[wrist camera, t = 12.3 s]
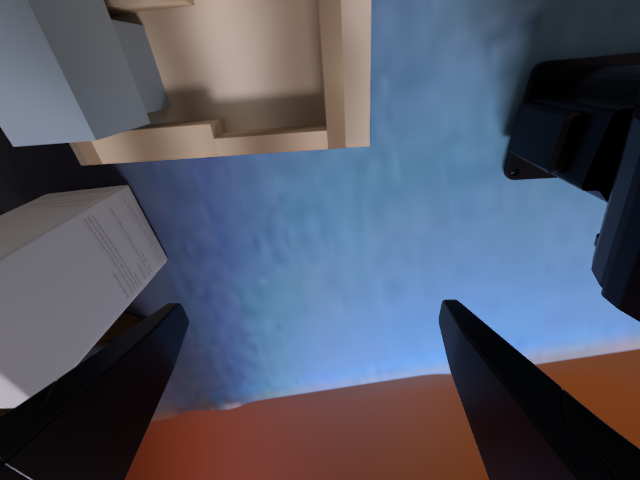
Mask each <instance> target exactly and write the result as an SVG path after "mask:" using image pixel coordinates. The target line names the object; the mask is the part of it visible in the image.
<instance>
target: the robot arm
mask: <svg viewBox="0 0 640 480" xmlns="http://www.w3.org/2000/svg"><path fill="white" fill-rule="evenodd" d="M544 67H545V68H546V73H545V75H543V76H542V77H541V76H540V72H541V70H542V69H543V68H544ZM508 150H509V151H510V152H509V155H508V159H507V163H506V166H505V170H504V174H505V176H506V177H508V178H509V179H511V180H520V179H539V178H558V177H559V178H560V179H562V180H564V181H566V182H568V183H570V184H572V185H574V186H575V187H577V188H579V189H581V190H583V191H586V192H588V193H590V194H592V195H594V196H596V197H598V198H600V199H601V200H603V201H605V202H607V203H608V204H607V208H606V212H605V215H604V219H603V223H602V226H601V230H600V233H599V234H597V235H596V239H595V243H594V245H595V246H596V248H595V252H594V256H593V262H592V269H591V270H592V272H593V274H594V275H595V277H596V279H597V281H598V283H599V285H600V286H601V287H602V292H601V294H602V296H603V297H604V298H605V299H607V300H608V301H609V302H610V303H611V304H613V305H614V306H615V307H616V308H618V309H619V310H621V311H622V312H624V313H626V314H627V315H629V316H631V317H632V318H634V319H636V320H638V321H639V322H640V52H639V53H628V54H617V55H606V56H596V57H585V58H574V59H563V60H552V61H543V62H540V63H538V64H537V65H536V66H535V67H534V68H533V70H532V72H531V75H530V79H529V83H528V86H527V90H526V94H525V97H524V101H523V104H522V105H521V106H520V107H519V110H518V113H517V117H516V121H515V124H514V128H513V132H512V136H511V139H510V143H509V147H508ZM516 168H517V170H516V172H515V173H514V174H511V172H512V171H513V170H514V169H516ZM188 325H189V319H188V317H187V315H186V313H185V310H184V308H183V306H182V305H181V304H180V303H169V304H167V305H165V306H164V307H162V308H161V309H159V310H158V311H156V312H155V313H153V314H152V315H150V316H149V317H147V318H146V319H145V320H143V321H142V322H140V323H139V324H137V325H136V326H134V327H133V328H131V329H130V330H128V331H127V332H126V333H124V334H123V335H121V336H120V337H118V338H117V339H115V340H114V341H112V342H111V343H109V344H108V345H107V346H105V347H104V348H102V349H101V350H99V351H98V352H96V353H95V354H93V355H92V356H90V357H89V358H87V359H86V360H85V361H83V362H82V363H80V364H79V365H77V366H76V367H74V368H73V369H71V370H70V371H68V372H67V373H66V374H64V375H63V376H61V377H60V378H58V379H57V381H54V382H52V383H51V384H49V385H48V386H46V387H45V388H44V389H42V390H41V391H39V392H38V393H36V394H35V395H33V396H32V397H30V398H29V399H27V400H26V401H24V402H23V403H21V404H20V405H18V406H17V407H15V408H13V409H12V410H10V411H9V412H7V413H5V414H4V415H2V416H1V417H0V480H125V478H126V476H127V473H128V471H129V469H130V467H131V464H132V462H133V460H134V458H135V455H136V453H137V451H138V448H139V446H140V444H141V442H142V439H143V437H144V435H145V433H146V430H147V428H148V426H149V424H150V421H151V419H152V417H153V415H154V412H155V410H156V408H157V406H158V403H159V401H160V399H161V397H162V394H163V392H164V390H165V388H166V385H167V383H168V381H169V379H170V376H171V374H172V372H173V369H174V367H175V364H176V361H177V359H178V356H179V353H180V350H181V347H182V344H183V340H184V337H185V334H186V331H187V328H188ZM439 325H440V329H441V334H442V338H443V342H444V346H445V351H446V355H447V359H448V363H449V367H450V371H451V374H452V377H453V380H454V382H455V385H456V388H457V391H458V394H459V396H460V399H461V402H462V405H463V407H464V410H465V413H466V416H467V419H468V421H469V424H470V427H471V430H472V433H473V435H474V438H475V441H476V444H477V446H478V449H479V452H480V455H481V457H482V460H483V463H484V466H485V469H486V472H487V474H488V477H489V480H640V449H639V448H638V447H636V446H635V445H633V444H632V443H631V442H629V441H628V440H627V439H626V438H624V437H623V436H622V435H620V434H619V433H618V432H616V431H615V430H614V429H612V428H611V427H610V426H608V425H607V424H606V423H604V422H603V421H602V420H601V419H599V418H598V417H597V416H595V414H593V413H592V412H591V411H590V410H588V409H587V408H586V407H585V406H583V405H582V404H581V403H580V402H579V401H577V400H576V399H575V398H574V397H572V396H571V395H570V394H569V393H568V392H567V391H565V390H562V388H561V387H560V386H559V385H558V384H557V383H556V382H554V381H553V380H552V379H551V378H550V377H549V376H547V375H546V374H545V373H543V372H542V371H541V370H540V369H539V368H538V367H537V366H535V365H534V364H533V363H532V362H531V361H529V360H528V359H527V358H526V357H525V356H523V355H522V354H521V353H520V352H519V351H517V350H516V349H515V348H514V347H513V346H511V345H510V344H509V343H508V342H507V341H505V340H504V339H503V338H502V337H501V336H500V335H498V334H497V333H496V332H495V331H494V330H492V329H491V328H490V327H489V326H488V325H486V324H485V323H484V322H483V321H482V320H480V319H479V318H478V317H477V316H476V315H474V314H473V313H472V312H471V311H470V310H468V309H467V308H466V307H465V306H464V305H462V304H461V303H460V302H459V301H457V300H443V302H442V305H441V310H440V314H439Z"/></svg>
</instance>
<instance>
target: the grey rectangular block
mask: <svg viewBox="0 0 640 480" xmlns="http://www.w3.org/2000/svg"><path fill="white" fill-rule="evenodd" d="M170 107H171V106H170V103H169V100H168V97H167V94H166V91H165V88H164V85H163V82H162V79H161V76H160V73H159V70H158V67H157V64H156V61H155V58H154V55H153V52H152V49H151V46H150V43H149V40H148V37H147V34H146V31H145V28H144V26H143V25H138V24H132V23H127V22H122V21H116V20H111V18H110V15H109V13H108V10H107V8H106V5H105V2H104V0H0V127H1V129H2V130H3V132H4V133H5V135H6V136H7V138H8V139H9V141H10V142H11V144H12V145H13V147H18V146H31V145H44V144H57V143H70V142H83V141H96V140H99V139H103V138H106V137H109V136H112V135H115V134H118V133H122V132H125V131H128V130H131V129H134V128H137V127H141V126H144V125H147V124H150V121H149V118H148V115H147V113H150V112H154V111H158V110H162V109H166V108H170Z"/></svg>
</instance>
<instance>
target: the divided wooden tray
mask: <svg viewBox="0 0 640 480" xmlns="http://www.w3.org/2000/svg"><path fill="white" fill-rule="evenodd" d="M104 2H105V5H106V8H107V10H108V13H109V15H110V18H111V20H116V21H122V22H127V23H132V24H138V25H143V26H144V28H145V31H146V34H147V37H148V40H149V43H150V46H151V49H152V52H153V55H154V58H155V61H156V64H157V67H158V70H159V73H160V76H161V79H162V82H163V85H164V88H165V91H166V94H167V97H168V100H169V103H170V106H171V107H170V108H166V109H162V110H158V111H154V112H150V113H147V115H148V118H149V121H150V124H147V125H144V126H141V127H137V128H134V129H131V130H128V131H125V132H122V133H118V134H115V135H112V136H109V137H106V138H103V139H99V140H96V141H83V142H70V143H69V144H70V146H71V147H72V149H73V151H74V153H75V155H76V157H77V158H78V160H79V162H80V164H81V166H82V165H98V164H113V163H128V162H143V161H158V160H173V159H188V158H203V157H217V156H232V155H247V154H262V153H277V152H292V151H307V150H322V149H337V148H350V147H365V146H370V67H371V0H104Z"/></svg>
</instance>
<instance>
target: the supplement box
mask: <svg viewBox="0 0 640 480" xmlns="http://www.w3.org/2000/svg"><path fill="white" fill-rule="evenodd" d="M167 260H168V259H167V257H166V255H165V253H164V251H163V249H162V248H161V246H160V244H159V242H158V240H157V238H156V236H155V235H154V233H153V231H152V229H151V227H150V225H149V223H148V222H147V220H146V218H145V216H144V214H143V212H142V210H141V208H140V206H139V204H138V203H137V201H136V199H135V197H134V195H133V193H132V191H131V189H130V188H129V186H128V185H121V186H112V187H104V188H94V189H85V190H77V191H68V192H59V193H52V194H46V195H44V196H41V197H39V198H37V199H35V200H33V201H31V202H29V203H26V204H24V205H22V206H20V207H18V208H16V209H13V210H11V211H9V212H7V213H5V214H2V215H0V408H15V407H17V406H18V405H20V404H21V403H23V402H24V401H26V400H27V399H29V398H30V397H32V396H33V395H35V394H36V393H38V392H39V391H41V390H42V389H44V388H45V387H46V386H48V385H49V384H51V383H52V382H54V381H57V379H58V378H60V377H61V376H63V375H64V374H66V373H67V372H68V371H70V370H71V369H73V368H74V367H76V366H77V365H78V363H79V362H80V361H81V360H82V359H83V358H84V357H85V355H86V354H87V353H88V352H89V351H90V350H91V348H92V347H93V346H94V345H95V344H96V343H97V341H98V340H99V339H100V338H101V337H102V336H103V335H104V333H105V332H106V331H107V330H108V329H109V328H110V327H111V325H112V324H113V323H114V322H115V321H116V320H117V318H118V317H119V316H120V315H121V314H122V313H123V312H124V310H125V309H126V308H127V307H128V306H129V305H130V303H131V302H132V301H133V300H134V299H135V298H136V296H137V295H138V294H139V293H140V292H141V291H142V290H143V288H144V287H145V286H146V285H147V284H148V283H149V281H150V280H151V279H152V278H153V276H154V275H155V274H156V273H157V272H158V271H159V270H160V268H161V267H162V266H163V265H164V264H165V263H166V261H167Z"/></svg>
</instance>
